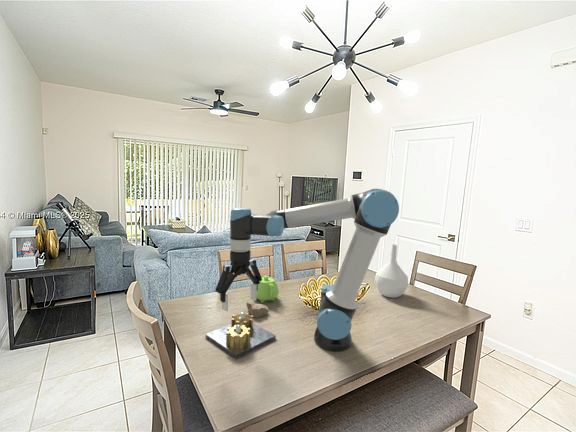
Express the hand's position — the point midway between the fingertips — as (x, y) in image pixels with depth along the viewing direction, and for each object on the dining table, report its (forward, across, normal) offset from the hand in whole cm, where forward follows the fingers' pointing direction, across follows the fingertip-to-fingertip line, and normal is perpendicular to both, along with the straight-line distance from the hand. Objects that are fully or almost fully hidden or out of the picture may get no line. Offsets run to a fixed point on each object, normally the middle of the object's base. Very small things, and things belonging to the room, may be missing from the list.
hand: (239, 304), depth 115 cm
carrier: (+17, -4, -4) cm, 18 cm away
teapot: (+17, -39, -28) cm, 51 cm away
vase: (+18, -98, +16) cm, 101 cm away
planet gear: (+16, 0, 0) cm, 16 cm away
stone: (+17, -24, -17) cm, 34 cm away
